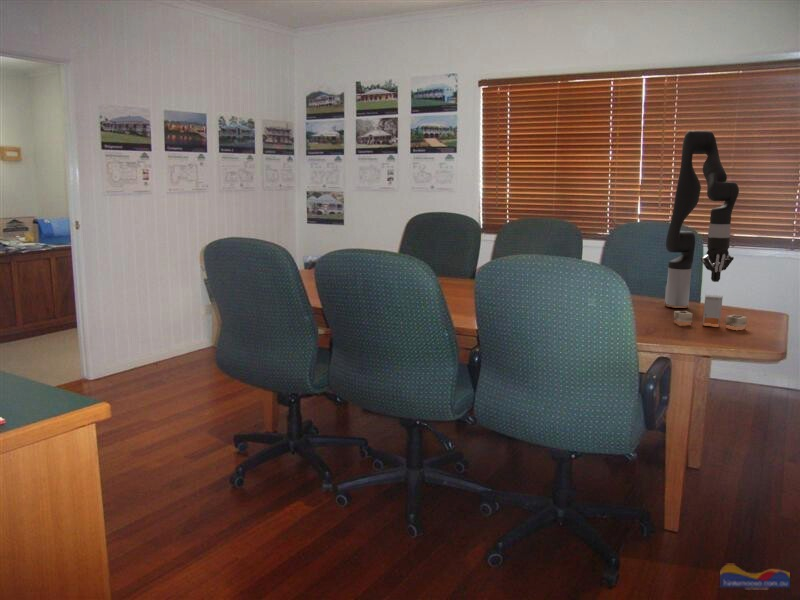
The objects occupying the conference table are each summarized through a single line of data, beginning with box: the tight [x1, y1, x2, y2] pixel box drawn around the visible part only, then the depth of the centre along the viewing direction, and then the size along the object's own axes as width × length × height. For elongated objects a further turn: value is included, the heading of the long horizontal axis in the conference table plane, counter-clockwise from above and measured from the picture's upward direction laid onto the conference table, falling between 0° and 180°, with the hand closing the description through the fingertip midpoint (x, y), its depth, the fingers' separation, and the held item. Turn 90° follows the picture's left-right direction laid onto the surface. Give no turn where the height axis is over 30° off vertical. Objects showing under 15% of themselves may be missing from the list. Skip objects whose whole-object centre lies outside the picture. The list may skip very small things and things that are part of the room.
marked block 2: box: [725, 314, 748, 327], centre depth 252 cm, size 5×5×5 cm
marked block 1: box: [673, 310, 693, 323], centre depth 260 cm, size 5×5×5 cm
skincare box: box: [702, 294, 724, 325], centre depth 256 cm, size 6×4×12 cm
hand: (715, 281), depth 254 cm, fingers closed
